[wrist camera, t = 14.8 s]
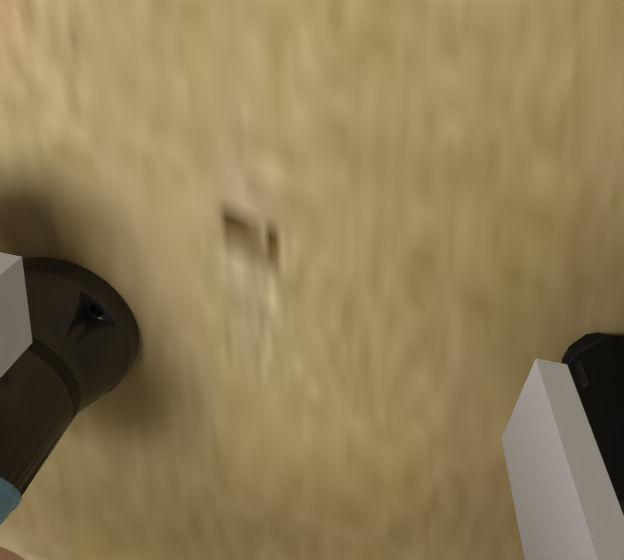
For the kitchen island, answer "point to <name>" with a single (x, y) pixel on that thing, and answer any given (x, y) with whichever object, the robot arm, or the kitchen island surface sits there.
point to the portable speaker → (602, 396)
